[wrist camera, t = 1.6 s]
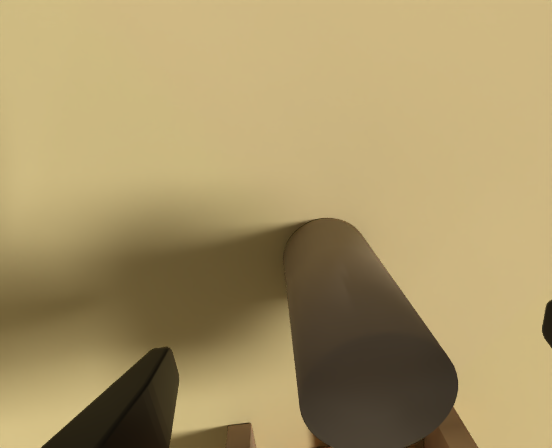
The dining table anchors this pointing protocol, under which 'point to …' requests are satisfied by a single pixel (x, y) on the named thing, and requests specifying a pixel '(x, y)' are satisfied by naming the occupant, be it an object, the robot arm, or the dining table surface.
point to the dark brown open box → (439, 444)
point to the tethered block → (360, 345)
